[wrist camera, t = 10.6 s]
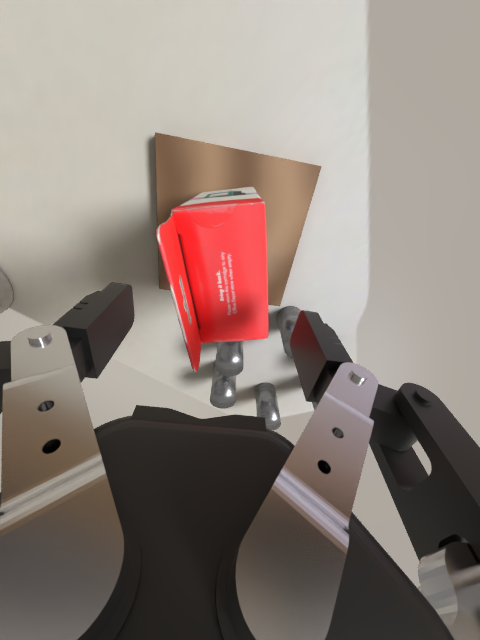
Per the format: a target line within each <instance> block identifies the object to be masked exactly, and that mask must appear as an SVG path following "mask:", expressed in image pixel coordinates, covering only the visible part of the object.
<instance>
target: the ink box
mask: <svg viewBox="0 0 480 640" xmlns="http://www.w3.org/2000/svg"><path fill="white" fill-rule="evenodd" d="M156 238H157V242H158V246H159V249H160V253H161V256H162V260H163V264H164V268H165V271H166V276H167V279H168V282H169V286H170V290H171V293H172V298H173V301H174V304H175V308H176V312H177V316H178V320H179V323H180V326H181V330H182V334H183V337H184V341H185V344H186V348H187V351H188V355H189V359H190V362H191V366H192V369H193V371H194V372H197V371H198V367H199V362H200V351H201V343H209V342H230V341H247V340H257V339H265V338H268V270H267V235H266V213H265V202H263V200H262V199H261V198H260V196H259V195H258V193H257V192H256V190H255V189H254V187H243V188H235V189H227V190H218V191H210V192H202V193H200V194H199V195H197V196H195V197H194V198H192V199H190V200H189V201H187V202H185V203H184V204H182V205H180V206H177V207H175V208H173V209H172V210H171V216H170V218H169V219H168V220H167V221H165V222H164V223H162V224H161V225H159V227H158V228H157V229H156ZM183 299H184V304H185V307H186V312H185V309H184V306H183Z"/></svg>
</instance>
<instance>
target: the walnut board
mask: <svg viewBox="0 0 480 640" xmlns="http://www.w3.org/2000/svg"><path fill="white" fill-rule="evenodd" d="M155 148H156V185H157V222H158V227H159V225H161V224H162V223H164V222H165V221H167V220H168V219H169V218H170V216H171V210H172V209H173V208H175V207H177V206H180V205H182V204H184V203H185V202H187V201H189V200H190V199H192V198H194V197H195V196H197V195H199V194H200V193H202V192H210V191H218V190H227V189H235V188H243V187H254V189H255V190H256V192H257V193H258V195H259V196H260V198H261V199H262V200H263V202H265V213H266V235H267V270H268V305H275V306H280V304H281V300H282V297H283V294H284V290H285V287H286V284H287V280H288V277H289V274H290V270H291V267H292V263H293V260H294V257H295V253H296V250H297V247H298V243H299V240H300V237H301V233H302V230H303V227H304V223H305V220H306V216H307V213H308V210H309V206H310V203H311V200H312V196H313V193H314V190H315V186H316V183H317V180H318V176H319V173H320V169H321V166H317V165H312V164H307V163H302V162H297V161H292V160H288V159H283V158H278V157H273V156H268V155H263V154H258V153H253V152H248V151H243V150H239V149H234V148H229V147H224V146H219V145H214V144H209V143H204V142H199V141H194V140H189V139H185V138H180V137H175V136H170V135H165V134H160V133H155ZM158 260H159V289H166V290H170V286H169V282H168V279H167V276H166V271H165V268H164V264H163V260H162V256H161V253H160V249H159V246H158Z"/></svg>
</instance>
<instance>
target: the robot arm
mask: <svg viewBox="0 0 480 640" xmlns="http://www.w3.org/2000/svg"><path fill="white" fill-rule="evenodd" d="M12 301H13V291H12V287H11V284H10V283H9V281H8V279H7V277H6V276H5V274H4V273H3V272H2V270H1V269H0V313H2V312H3V311H5V310H7V309H8V308H9V307H10V306H11V304H12ZM133 322H134V305H133V293H132V287H131V285H128V284H121V283H114V282H112V283H110V284H109V285H108V286H107V287H106V288H105V289H103V290H102V291H97V292H95V293H92V294H90V295H88V296H86V297H85V298H84V299H82V300H81V301H80V303H78V304H77V305H75V306H74V307H73V309H71V310H70V311H68V312H67V313H66V314H65V315H64V316H62V317H61V318H60V319H59V320H58V321H57V322H55V323H54V324H53V325H42V326H37V327H32V328H29V329H26V330H24V331H22V332H20V333H18V334H17V335H16V336H15V337H14V338H13V339H12V341H2V342H0V414H1V412H2V475H1V477H2V478H1V481H2V482H1V493H0V640H480V447H479V446H478V445H477V444H476V443H475V441H474V440H473V439H472V438H471V437H470V436H469V434H468V433H467V432H466V430H465V429H464V428H463V427H462V426H461V424H460V423H459V422H458V421H457V419H456V418H455V417H454V416H453V415H452V413H451V412H450V411H449V410H448V409H447V407H446V406H445V405H444V404H443V402H442V401H441V400H440V399H439V398H438V397H437V396H436V395H435V394H433V393H432V392H431V391H429V390H427V389H426V388H424V387H422V386H419V385H416V384H413V383H404V384H403V385H402V386H401V387H400V389H399V390H398V391H397V390H394V389H391V388H388V387H385V386H382V385H379V384H378V381H377V379H376V377H375V376H374V375H373V374H372V373H371V372H370V371H369V370H367V369H366V368H364V367H362V366H360V365H358V364H355V363H353V361H352V360H351V358H350V356H349V355H348V353H347V351H346V350H345V348H344V346H343V345H342V343H341V341H340V340H339V339H338V336H337V335H336V333H335V331H334V330H333V329H332V328H330V327H329V326H328V325H327V324H324V323H323V321H322V320H321V318H320V316H319V314H318V313H317V312H310V311H303V310H302V311H301V312H300V313H299V315H298V318H297V321H296V324H295V326H294V329H293V332H292V335H291V338H290V348H291V352H292V355H293V359H294V362H295V365H296V369H297V372H298V375H299V379H300V382H301V385H302V389H303V392H304V395H305V399H306V401H308V402H317V405H318V406H317V407H316V409H315V411H314V413H313V415H312V417H311V418H310V420H309V422H308V424H307V426H306V427H305V429H304V431H303V432H302V434H301V436H300V438H299V440H298V441H297V443H296V445H295V446H294V445H293V444H292V443H291V442H290V441H288V440H287V439H286V438H285V437H283V436H281V435H280V434H278V433H277V432H274V431H272V430H270V429H268V428H266V422H265V418H264V417H254V416H244V415H229V416H222V417H215V418H208V419H199V418H196V417H193V416H190V415H187V414H184V413H181V412H178V411H176V410H173V409H169V408H160V407H150V406H139V405H136V408H135V410H134V412H133V415H132V416H127V417H123V418H119V419H116V420H113V421H110V422H108V423H105V424H103V425H101V426H99V427H97V428H95V429H93V425H92V421H91V418H90V414H89V411H88V407H87V404H86V400H85V397H84V393H83V389H82V386H81V382H82V381H83V379H84V378H85V377H88V378H98V377H99V375H100V374H101V372H102V370H103V369H104V368H105V366H106V365H107V363H108V362H109V360H110V359H111V357H112V356H113V354H114V353H115V351H116V350H117V348H118V347H119V345H120V344H121V342H122V341H123V339H124V338H125V336H126V335H127V333H128V332H129V330H130V329H131V327H132V325H133ZM417 440H418V441H419V443H420V444H421V446H422V447H423V449H424V451H425V452H426V454H427V456H428V457H429V459H430V461H431V466H432V471H431V474H430V475H429V476H428V474H427V472H426V471H425V469H424V467H423V465H422V464H421V462H420V460H419V458H418V456H417V455H416V453H415V451H414V450H413V448H412V445H413V444H414V443H415V442H416V441H417ZM368 444H370V446H371V449H372V451H373V454H374V456H375V458H376V461H377V463H378V465H379V468H380V470H381V472H382V475H383V477H384V479H385V482H386V484H387V486H388V489H389V491H390V493H391V496H392V498H393V500H394V503H395V505H396V507H397V510H398V512H399V514H400V517H401V519H402V521H403V524H404V526H405V529H406V531H407V533H408V536H409V538H410V540H411V543H412V545H413V547H414V550H415V552H416V554H417V557H418V559H419V561H420V562H419V565H418V576H419V581H420V586H419V587H418V588H416V586H415V585H414V584H413V583H412V581H411V580H410V579H409V578H408V577H407V576H406V575H405V573H404V572H403V571H402V570H401V569H400V567H399V566H398V565H397V564H396V563H395V562H394V561H393V559H392V558H391V557H390V556H389V555H388V554H387V552H386V551H385V550H384V549H383V548H382V547H381V545H380V544H379V543H378V542H377V541H376V540H375V538H374V537H373V536H372V535H371V534H370V533H369V531H368V530H367V529H366V528H365V527H364V526H363V525H362V523H361V522H360V521H359V520H358V519H357V517H356V516H355V515H354V514H353V513H352V508H353V503H354V500H355V496H356V491H357V488H358V484H359V480H360V476H361V472H362V468H363V464H364V460H365V456H366V452H367V448H368Z"/></svg>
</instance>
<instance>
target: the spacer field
mask: <svg viewBox="0 0 480 640" xmlns="http://www.w3.org/2000/svg"><path fill="white" fill-rule="evenodd" d="M300 312H301V310H300V309H298V308H297V307H293V306H289V307H285V308H283V309H282V310H281V311H280V312H279V313H278V315H277V321H278V325H279V329H280V333H281V338H282V342H283V346H284V350H285V353H286V354H287V355H288V356H289V357H291V358H293V355H292V352H291V348H290V338H291V335H292V332H293V329H294V326H295V324H296V321H297V318H298V315H299V313H300ZM242 370H243V341H230V342H218V346H217V354H216V361H215V365H214V373H213V380H212V388H211V396H210V402H211V404H212V405H213V406H215V407H217V408H229V407H231V406H233V405H234V403H235V389H236V375H238V374H239V373H241V371H242ZM255 392H256V407H257V417H264V418H265V422H266V428H268V429H270V430H275V429H277V428H279V427H280V425H281V422H280V415H279V409H278V403H277V396H276V390H275V387H274V385H272V384H270V383H262V384H259V385H258V386H257V387H256V389H255ZM312 404H313V407H314V410H315V409H316V407H317V406H318V405H317V402H312Z"/></svg>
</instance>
